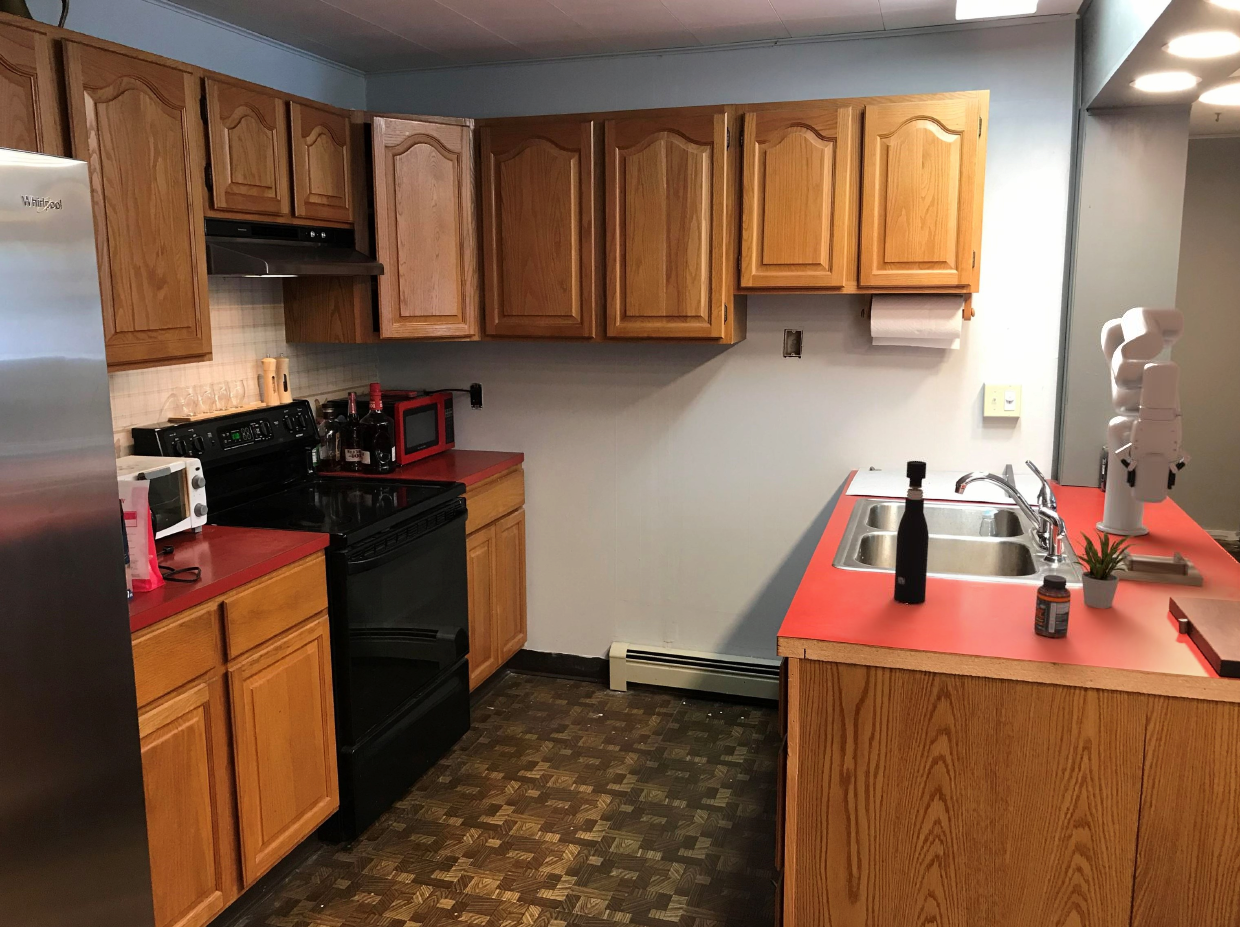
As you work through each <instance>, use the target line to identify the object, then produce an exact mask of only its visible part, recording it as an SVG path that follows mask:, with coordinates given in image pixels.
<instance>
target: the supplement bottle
mask: <svg viewBox="0 0 1240 927" xmlns="http://www.w3.org/2000/svg"><path fill="white" fill-rule="evenodd" d="M1042 582H1043V584H1041V585H1040V586H1039V587H1038V588H1037V592H1036V603H1035V612H1034V613H1035V614H1034V624H1033V626H1034V627H1033V628H1034V632H1035V633H1036V632H1037V634H1038V635H1040V636H1042V635H1043V636H1042V637H1045V636H1047V637H1046V638H1052V637H1054V638H1053V639H1058V638H1057V637H1061V638H1064V637H1066V636H1067V634H1068V630H1069V619H1070V617H1069V616H1070V606H1071V599H1072V598H1071V591H1070V590H1069V589H1068V588H1067V587H1066V586H1067V578H1066V577H1064V576H1062V575H1058V574H1046V575H1044V577H1043V581H1042Z"/></svg>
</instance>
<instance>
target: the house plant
mask: <svg viewBox="0 0 1240 927" xmlns="http://www.w3.org/2000/svg"><path fill="white" fill-rule="evenodd" d="M1092 529H1093V530H1094V531H1095V533H1096V534H1097V536H1098V540H1099V544H1100V553H1101V556H1100V555H1099V551H1098V548H1095V545H1094V544H1093V541H1092V540H1091V539H1090V537H1088V536H1087V535H1086V534H1085V533H1084V532H1082V531H1079V532H1080V534H1081V535H1082V537H1083V539H1084V541H1085V543H1086V544H1085V546H1082V547H1083V549H1084V553H1082V556H1081V555H1079V554H1074V553H1072V555H1073V556H1075V557H1077V558H1078V559H1079V560H1081V561H1082V562H1084V563H1086V564H1087V565H1088V567H1089V569H1088V568H1087V566H1086V565H1084V564H1083V563H1081V562H1080V561H1073V562H1072V564H1077V565H1081V566H1082V567H1083V568H1085V569H1086V571H1084V572H1081V581H1082V590H1083V591H1082V592H1083V603H1084V604H1085V606H1088V607H1092V608H1096V607H1098V609H1109V608H1111V607H1112V604H1113V602H1114V598H1115V594H1116V591H1117V588H1118V584H1119V580H1120V579H1119V577H1118V576H1116V575H1114V574H1111V572H1112V571H1113V570H1121V571H1125V572H1126V570H1125V569H1122V568H1116V567H1117V565H1118V564H1119V563H1120V562H1121V561H1122V560H1123V559H1125V558H1126V557H1128V556H1132V555H1127V556H1124V557H1122V558H1119V556H1120V555H1121V554H1122V553H1123V552H1124V551H1125V550H1126V549H1128V548H1130V547H1131V546H1136V545H1137V546H1143V543H1142V544H1141V543H1131V544H1127V545H1126V546H1125V547H1120V546H1121V545H1123V543H1125V542H1126V541H1127V540H1128V539H1130V538H1133V537H1136V536H1137V535H1126V536H1124V537H1122V538H1121V539H1118V540H1117V539H1116V540H1115V541H1114V542H1113V543H1112V544H1111V547H1110V537H1109V535H1108V533H1107V532H1105V531H1103V535H1102V534H1100V533H1101V530H1098V531H1097V530H1096V529H1095V528H1093V527H1092ZM1098 532H1099V533H1098ZM1068 538H1069V539H1072V540H1073V538H1071V537H1068ZM1076 542H1077V543H1079V544H1080V542H1079V541H1078V540H1076ZM1119 547H1120V548H1119ZM1122 548H1123V549H1122ZM1119 550H1120V551H1119ZM1118 551H1119V552H1118ZM1108 552H1109V553H1108ZM1116 553H1119V554H1118V555H1117V556H1116V557H1113V555H1114V554H1116ZM1084 556H1086V558H1085V557H1084ZM1117 559H1119V560H1117ZM1122 562H1123V561H1122ZM1110 565H1111V566H1110ZM1121 565H1124V566H1128V567H1129V568H1130V565H1129V564H1121ZM1109 566H1110V567H1109ZM1118 566H1120V565H1118ZM1108 568H1109V569H1108ZM1114 568H1115V569H1114ZM1130 569H1131V568H1130Z"/></svg>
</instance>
